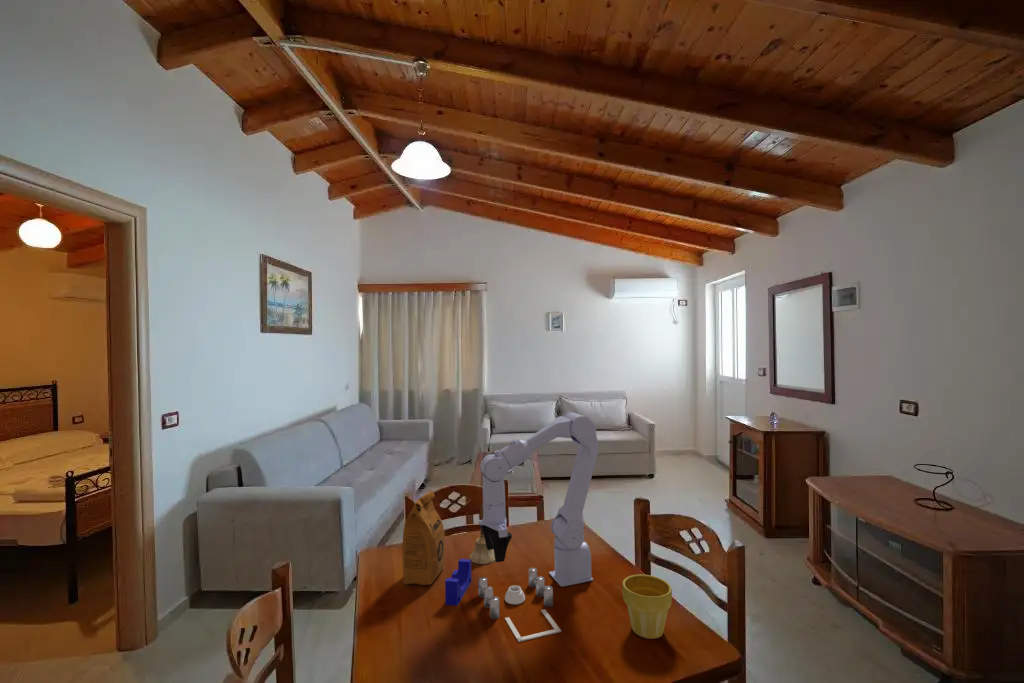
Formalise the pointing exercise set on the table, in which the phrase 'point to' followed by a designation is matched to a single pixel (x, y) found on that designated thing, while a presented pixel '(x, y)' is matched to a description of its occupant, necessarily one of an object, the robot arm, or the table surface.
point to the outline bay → (520, 639)
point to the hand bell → (482, 548)
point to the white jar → (514, 595)
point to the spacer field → (534, 581)
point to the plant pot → (647, 604)
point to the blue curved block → (458, 582)
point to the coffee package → (423, 543)
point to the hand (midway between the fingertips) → (495, 554)
